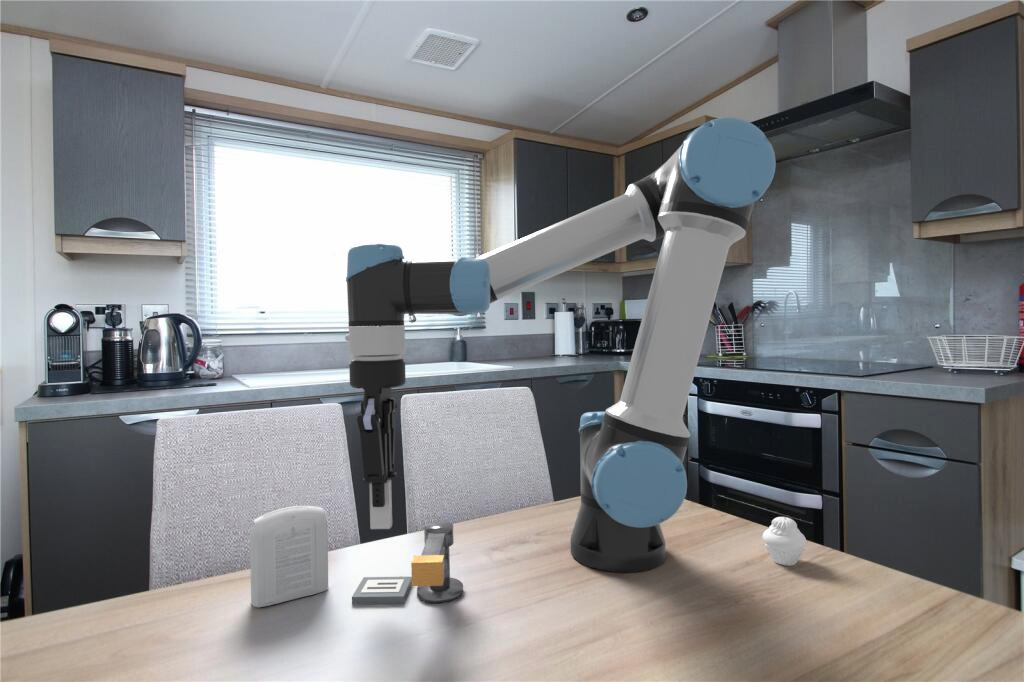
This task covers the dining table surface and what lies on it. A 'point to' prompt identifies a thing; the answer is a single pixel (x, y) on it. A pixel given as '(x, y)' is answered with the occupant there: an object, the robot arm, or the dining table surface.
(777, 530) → the muffin
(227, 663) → the dining table surface
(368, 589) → the label tile
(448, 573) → the round-base stand
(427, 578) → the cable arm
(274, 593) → the photo printer
